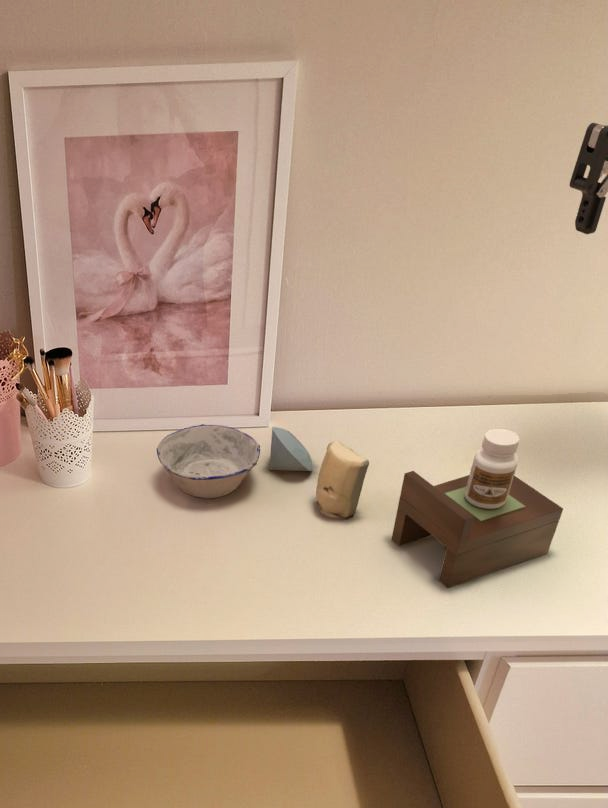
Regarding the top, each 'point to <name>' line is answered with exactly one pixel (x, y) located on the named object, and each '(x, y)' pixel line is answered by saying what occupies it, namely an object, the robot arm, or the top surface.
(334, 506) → the beige rounded block
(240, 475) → the bowl
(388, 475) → the top surface
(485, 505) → the pill bottle
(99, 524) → the top surface
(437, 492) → the shelf
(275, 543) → the top surface
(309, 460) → the gemstone
